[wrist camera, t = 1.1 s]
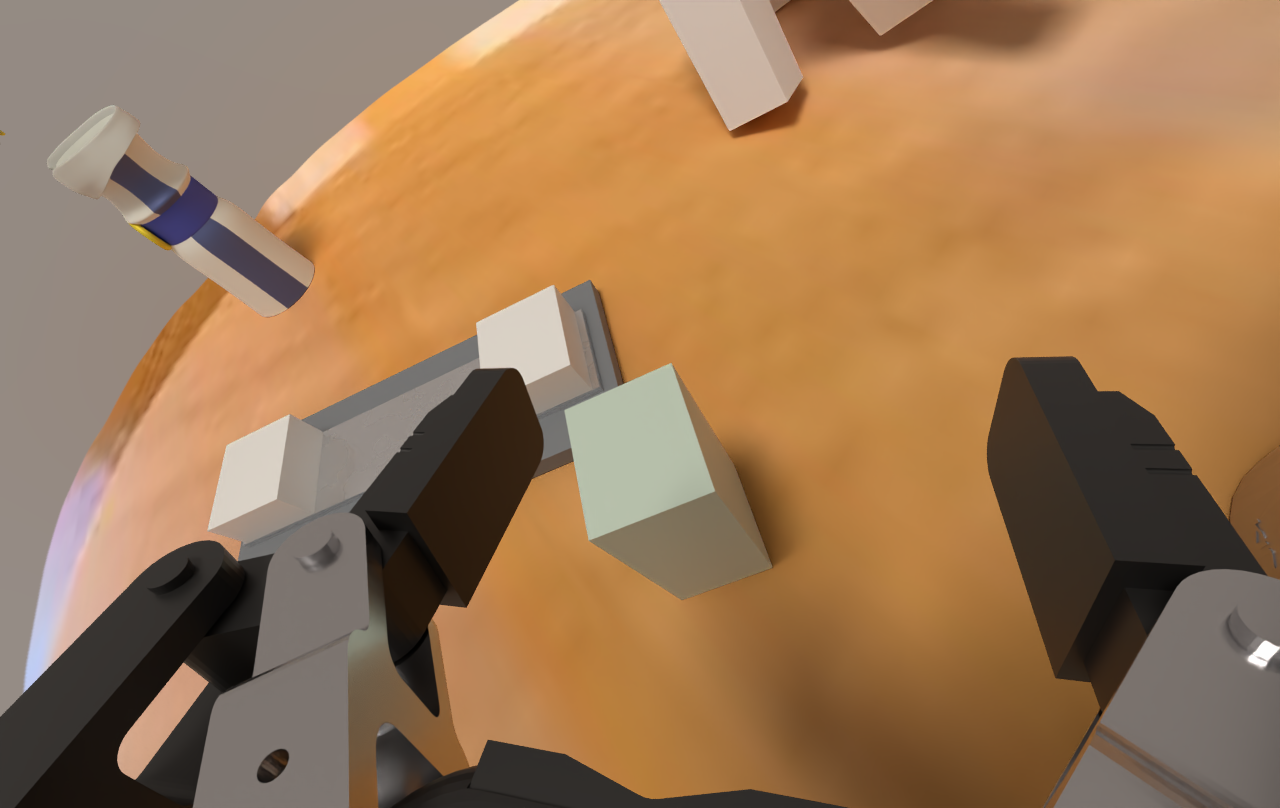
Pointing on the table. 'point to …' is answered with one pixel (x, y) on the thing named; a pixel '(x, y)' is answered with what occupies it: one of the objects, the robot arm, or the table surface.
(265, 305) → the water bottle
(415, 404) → the mounting plate
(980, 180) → the table surface
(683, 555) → the tall block
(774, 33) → the white angular blocks
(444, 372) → the grey board
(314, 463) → the rectangular blocks
